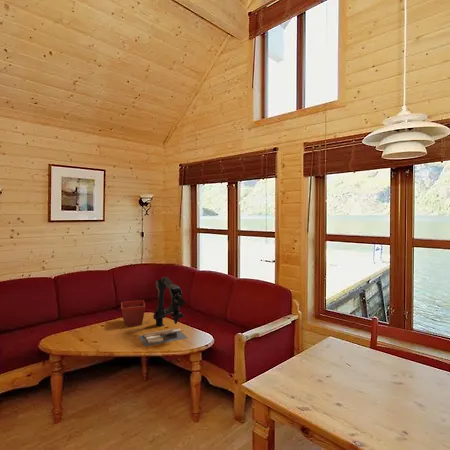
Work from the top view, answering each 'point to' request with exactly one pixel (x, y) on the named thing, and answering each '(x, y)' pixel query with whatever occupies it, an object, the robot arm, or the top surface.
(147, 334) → the light brown plank
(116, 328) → the top surface
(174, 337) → the underlay
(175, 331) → the beige flat square block
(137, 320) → the plant pot
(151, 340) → the light beige plank
